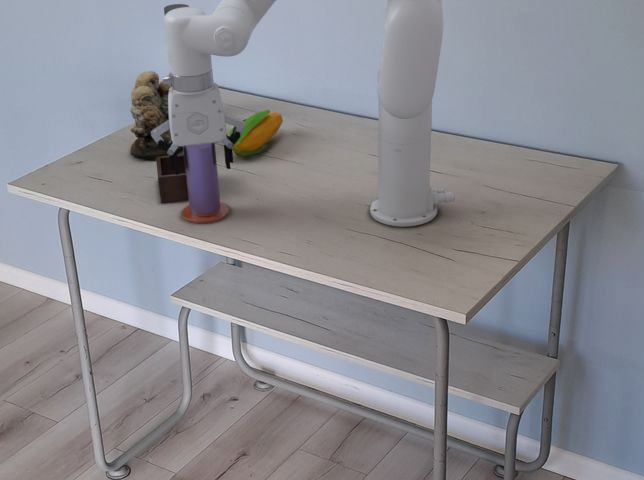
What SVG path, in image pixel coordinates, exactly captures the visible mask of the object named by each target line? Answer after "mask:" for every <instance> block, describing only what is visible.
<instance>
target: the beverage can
mask: <svg viewBox="0 0 644 480" xmlns="http://www.w3.org/2000/svg"><path fill="white" fill-rule="evenodd" d="M182 152H183V153H182V154H184V162H185V171H186V180H187V189H188V198H189V200H188V205H189V207H190V211H191V212H192V213H193V214H194V215H196V216H201V217H206V216H211V215H214V214H216V213H217V212H218V211H219V210H220V207H221V204H220V203H221V195H220V184H219V183H220V182H219V173H218V162H217V151H216V143H209V144H196V145H191V146H183V151H182Z"/></svg>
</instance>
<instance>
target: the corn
mask: <svg viewBox="0 0 644 480" xmlns="http://www.w3.org/2000/svg"><path fill="white" fill-rule="evenodd" d="M243 121H244V123H245V127H244V129H243V131H242V133H241V137H240V138H239V140H238V141H237V142H236V143H235V144H234V146H233V148H232V152H233V154H235V155H236V156H241V157H244V158H245V157H251V156H253V155H255V154H257V153H260V152H262V151H263V150H264V149H266V148H267V147H268V146H269V145H271V144H272V143H273V142H274V139H273V137H274V136H275V135H276V134H277V133H278V131H279V130H280V128H281V126H282V124H283V122H284V120H283V116H282V114H281V113H278V112H275V111H273V112H271V110H270V109H266V110H262V111H258V112H256V113H254V114H252V115H250V116H248V117H247V118H244V119H243ZM235 128H236V127H235V126H232V128H231V129H230V132H229V134H228V136H230V135H231V134H232V133H233V132H234V131H235Z"/></svg>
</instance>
